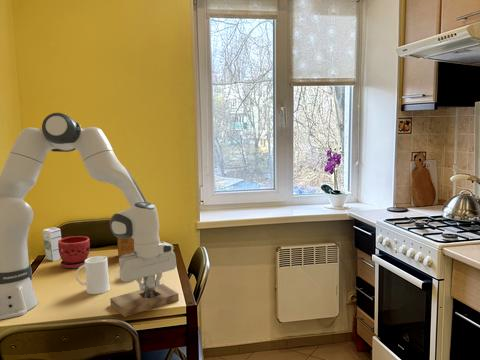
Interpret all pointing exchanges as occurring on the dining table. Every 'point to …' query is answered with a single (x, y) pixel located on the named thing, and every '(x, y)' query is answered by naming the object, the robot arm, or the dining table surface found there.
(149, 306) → the plate
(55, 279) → the dining table surface
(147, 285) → the peg
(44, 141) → the robot arm
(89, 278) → the mug
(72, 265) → the plant pot
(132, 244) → the coffee package
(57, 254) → the syrup box
